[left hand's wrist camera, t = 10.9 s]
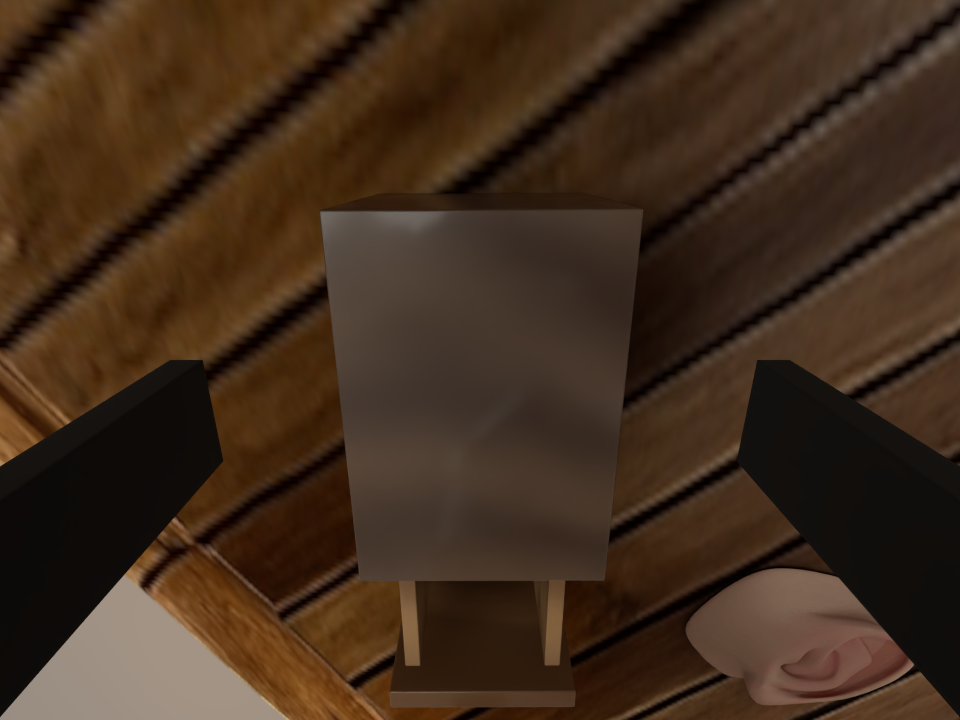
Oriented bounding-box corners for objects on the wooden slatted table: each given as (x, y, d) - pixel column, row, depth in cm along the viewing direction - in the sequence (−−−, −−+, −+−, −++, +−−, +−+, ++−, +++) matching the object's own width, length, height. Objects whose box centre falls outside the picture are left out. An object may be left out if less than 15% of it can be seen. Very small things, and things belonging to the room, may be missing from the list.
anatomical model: (682, 700, 36) (783, 582, 32) (663, 649, 39) (751, 539, 36) (836, 753, 38) (948, 648, 34) (804, 700, 41) (901, 600, 38)
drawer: (549, 637, 38) (569, 770, 29) (414, 637, 38) (396, 771, 29) (564, 386, 31) (596, 469, 22) (398, 387, 31) (367, 469, 22)
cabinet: (566, 454, 33) (604, 581, 23) (396, 454, 33) (359, 581, 23) (583, 192, 28) (644, 208, 17) (377, 193, 28) (318, 210, 18)
